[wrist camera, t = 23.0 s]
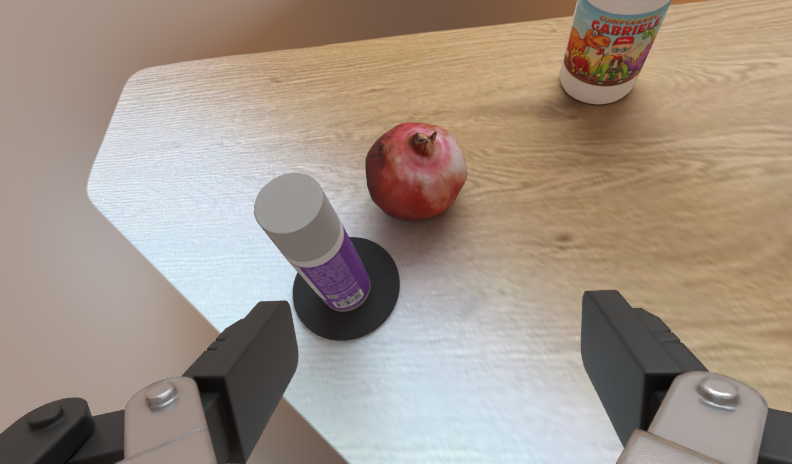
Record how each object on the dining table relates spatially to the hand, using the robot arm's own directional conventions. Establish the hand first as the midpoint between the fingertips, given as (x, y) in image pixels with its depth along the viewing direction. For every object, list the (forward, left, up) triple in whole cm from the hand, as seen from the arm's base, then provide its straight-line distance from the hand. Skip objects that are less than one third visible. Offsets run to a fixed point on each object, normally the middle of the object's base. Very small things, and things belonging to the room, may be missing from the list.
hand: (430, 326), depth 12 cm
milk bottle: (-35, -15, -26) cm, 46 cm away
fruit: (-12, -17, -26) cm, 33 cm away
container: (0, -14, -25) cm, 29 cm away
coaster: (0, -14, -26) cm, 29 cm away
